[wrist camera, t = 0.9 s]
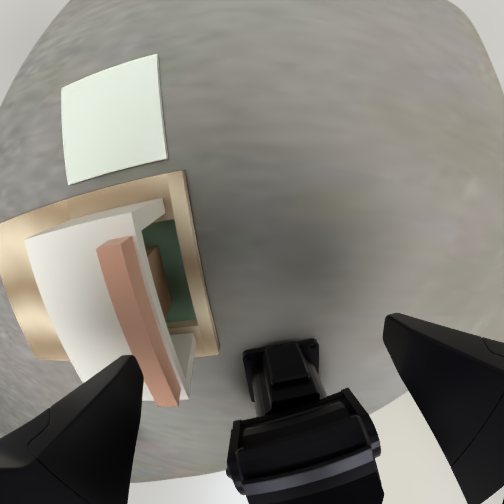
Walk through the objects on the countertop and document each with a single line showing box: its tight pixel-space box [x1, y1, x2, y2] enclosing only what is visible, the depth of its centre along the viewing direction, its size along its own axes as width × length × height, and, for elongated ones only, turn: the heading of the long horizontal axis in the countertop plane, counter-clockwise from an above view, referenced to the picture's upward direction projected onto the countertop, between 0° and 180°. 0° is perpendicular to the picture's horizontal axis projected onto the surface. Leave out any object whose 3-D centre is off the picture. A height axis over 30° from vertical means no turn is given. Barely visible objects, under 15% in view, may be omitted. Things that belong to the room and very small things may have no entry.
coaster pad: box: [61, 54, 168, 185], centre depth 15 cm, size 8×8×1 cm
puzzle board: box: [0, 170, 219, 361], centre depth 18 cm, size 14×20×1 cm
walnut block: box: [145, 245, 172, 320], centre depth 16 cm, size 4×4×6 cm
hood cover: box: [24, 198, 196, 406], centre depth 14 cm, size 11×7×7 cm, turn 7°
